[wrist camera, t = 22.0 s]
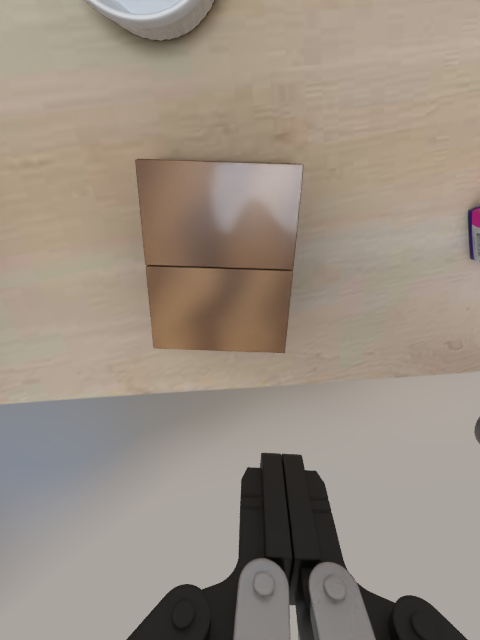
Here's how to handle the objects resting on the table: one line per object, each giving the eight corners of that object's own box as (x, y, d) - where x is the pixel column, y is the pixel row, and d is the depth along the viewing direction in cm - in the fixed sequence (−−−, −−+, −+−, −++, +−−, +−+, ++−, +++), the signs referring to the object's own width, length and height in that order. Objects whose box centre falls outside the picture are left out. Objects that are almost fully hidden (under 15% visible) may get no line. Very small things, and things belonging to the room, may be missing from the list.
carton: (292, 166, 32) (304, 163, 26) (278, 324, 40) (285, 353, 33) (157, 162, 32) (134, 158, 26) (168, 321, 40) (153, 348, 33)
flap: (292, 270, 30) (292, 271, 30) (284, 351, 33) (284, 353, 33) (146, 265, 30) (145, 266, 30) (154, 347, 33) (153, 348, 33)
